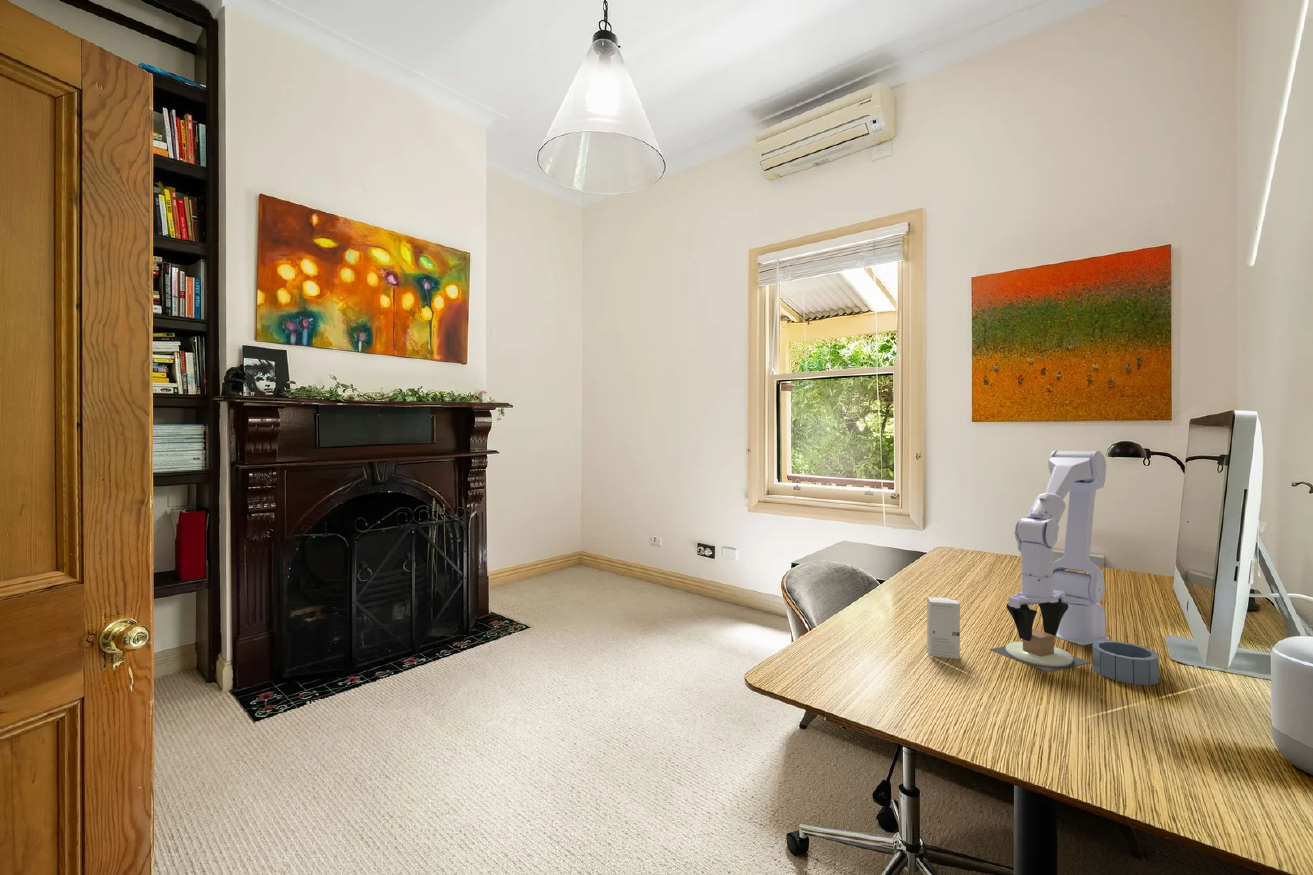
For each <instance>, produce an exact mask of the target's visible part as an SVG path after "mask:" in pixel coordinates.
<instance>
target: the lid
mask: <svg viewBox="0 0 1313 875" xmlns="http://www.w3.org/2000/svg"><path fill="white" fill-rule="evenodd" d="M1005 646H1006V653H1007V654H1008V655H1010V656H1011V657H1013V658H1015V659H1018V660H1020V661H1023V662H1026V663H1030V664H1034V665H1040V666H1047V667H1065V666H1069V665H1071V664H1072V663H1073V657H1072V656H1073V655H1072V654H1071V653H1069V652H1068V651H1067V650H1064V649H1062V648H1061V647H1056V646H1055V636H1054V635H1051V634H1048V633H1045V632H1044V631H1042V630H1038V629H1036V628H1035V629H1032V638H1031V641H1027V640H1024V639H1022V641H1012V642H1009V643H1007V644H1006V645H1005Z"/></svg>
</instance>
